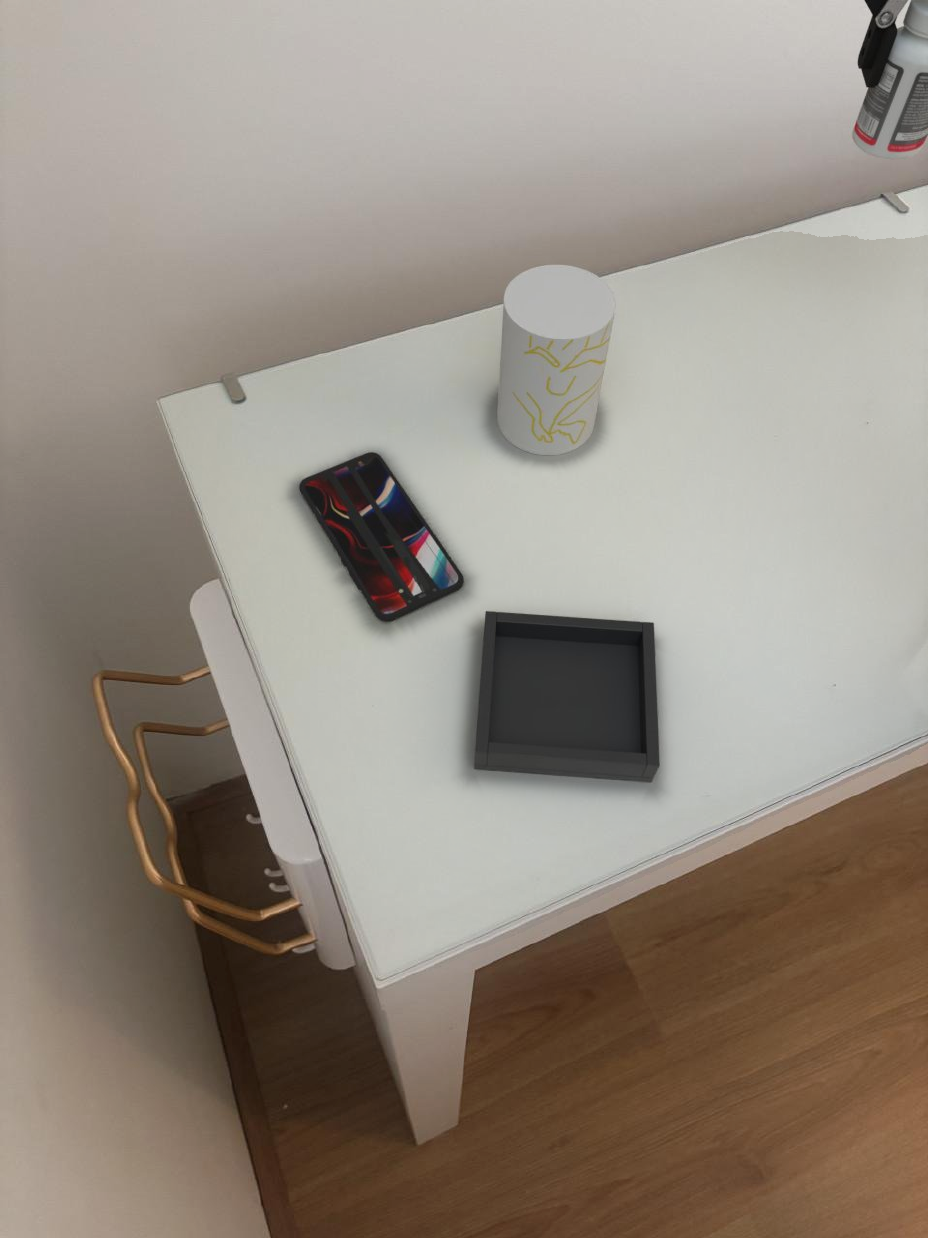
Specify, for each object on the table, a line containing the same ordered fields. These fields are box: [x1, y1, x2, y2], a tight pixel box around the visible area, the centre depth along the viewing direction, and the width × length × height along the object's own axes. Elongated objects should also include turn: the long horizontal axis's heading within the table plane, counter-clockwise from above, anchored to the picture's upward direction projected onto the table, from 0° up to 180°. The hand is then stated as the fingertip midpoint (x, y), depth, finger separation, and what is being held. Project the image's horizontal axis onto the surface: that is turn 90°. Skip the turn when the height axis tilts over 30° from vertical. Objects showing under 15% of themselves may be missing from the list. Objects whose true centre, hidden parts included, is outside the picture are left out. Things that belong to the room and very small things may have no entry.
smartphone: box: [298, 451, 465, 623], centre depth 70 cm, size 7×1×15 cm
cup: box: [496, 264, 617, 456], centre depth 72 cm, size 8×8×12 cm
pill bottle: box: [851, 0, 928, 161], centre depth 67 cm, size 5×5×10 cm
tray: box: [473, 610, 661, 783], centre depth 61 cm, size 12×11×3 cm
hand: (911, 77), depth 67 cm, fingers closed on pill bottle, 5 cm apart
